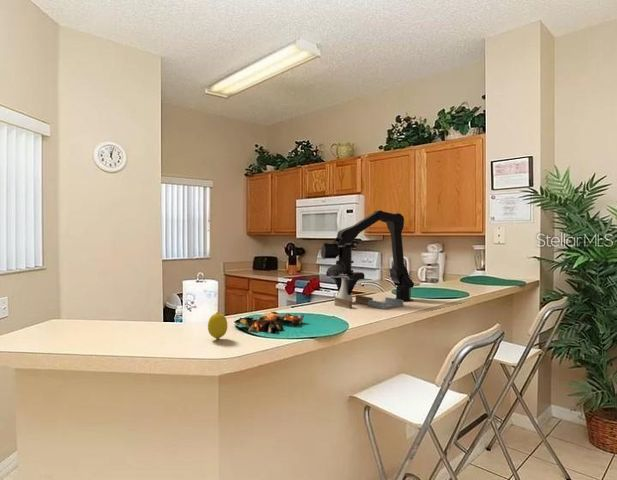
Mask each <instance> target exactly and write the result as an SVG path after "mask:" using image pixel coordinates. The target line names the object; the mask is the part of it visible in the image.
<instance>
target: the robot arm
mask: <svg viewBox="0 0 617 480" xmlns="http://www.w3.org/2000/svg"><path fill="white" fill-rule="evenodd" d="M378 221H380V222H382V223H386V227H387V229H388V231H389V234H390V238H391V250H392V261H393V262H392V263H393V264H392V268H391V267H390V268H388V269H389V278H390V280H391V281H392V282H393V284H394V286H395V287H396V290H395V291H396V292H395V298H394V299H400V300H403V302H409V301H413V300H414V298H412V297H411V296H412V295H411V292H412V291H411V289H412V288H414V285H415V283H414V282H413V281H412V279H411V278H410V274H409V271H408V269H407V267H406V265H405V260H404V247H403V234H402V232H403V229H404V227H405V226H404V225H405V217H404V215H402V214H401V213H400V212H398V213H397V212H395V213H391V212H387V211H383V210H381V209H380V210H374V211H373V212H372V213H371V214H369V215H367V216H366V217H364V218H363V219H361V220H359V221H358V222H357V223H355V224H354V225H351V226H348V227H345V228H342V229H341V230H339V231H338V232H337V235H336V238H335V239H334V240H333V242H332V243H331V242H330V243H329V242H323V243H322V247H321V249H320V254H321V255H320V256H321V258H322V259H323V260H325V259H326V260H327V259H333V260H334V259H337V257H338V259H337V260H336V261H335V264H333V265H331V266H330V267H327V269H326V272H325V274H326V275H325V276H326V277H330V278H331V279H332V280H333V281H334V283H335V285H336V287H337V291H338V292H339V291H340V288H341V284H342V279H341V278H342V277H347V278H348V279H345V280H346V282H347V288H348V295H350V294H351V295H352V292H353V290H354V288H355V286H356V285H357V284H358V283H357V282H358V281H360V280H365V277H366V275H365V274H364V272H362V271H361V272H360V271H354V270H353V269H352V264H354V260H352V254H353V253H352V252H353V250H352V249H357V245H355V244H354V240H355V239H356V238H357V237H358V235H359V234H360V233H361V232H364V230H367V229H368V228H370V227H371V226H372V225H374V224H375V223H377V222H378Z"/></svg>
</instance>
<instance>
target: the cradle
mask: <svg viewBox="0 0 617 480" xmlns="http://www.w3.org/2000/svg"><path fill="white" fill-rule="evenodd" d="M367 306H368V307H372V308H376V309H382V310H388V309H393V308H400V307H404V301H403V300H400V299H394V298H393V297H389V296H387V297H386V296H385V299H384V300H383V301H378V300H368V305H367Z"/></svg>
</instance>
